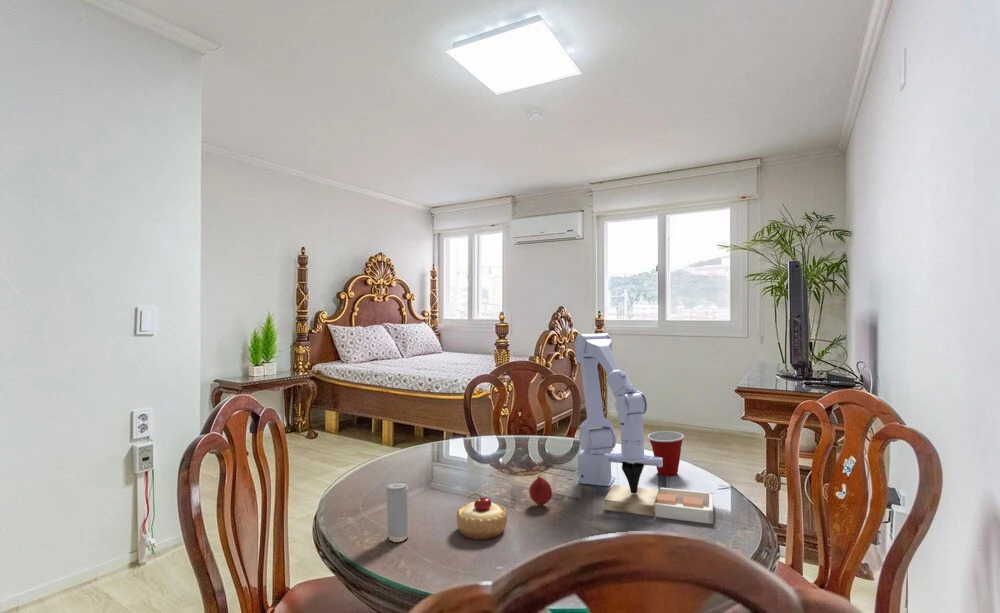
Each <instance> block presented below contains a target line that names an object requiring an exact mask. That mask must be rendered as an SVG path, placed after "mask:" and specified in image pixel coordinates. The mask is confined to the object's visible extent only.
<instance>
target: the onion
mask: <svg viewBox="0 0 1000 613" xmlns="http://www.w3.org/2000/svg"><path fill="white" fill-rule="evenodd" d="M528 493H529V496H530V498H531V500H532V501H533V502H534V503H535V504H536V505H537V506H539V507H543V506H544V505H546V504H547V503H548V502H550V500H551V498H552V497H553V496H552V494H553V489H552V486H551V485H550V484H549V482H548V481H547V480H546V479H544V478H543V477H542V476H541V475H540V474H538V475H537V478H536V479H535V480H533V482H532V483H531V484H530V487H529V491H528Z"/></svg>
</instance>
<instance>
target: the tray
mask: <svg viewBox="0 0 1000 613" xmlns="http://www.w3.org/2000/svg"><path fill="white" fill-rule="evenodd" d="M659 493H661V494H670V495H677V506H676V505H668V504H659V503H655V514H654V515H655V517H656V518H663V519H672V520H678V521H686V522H695V523H702V524H710V525H713V524H714V493H713V492H707V491H700V490H699V491H698V490H697V491H696V490H689V489H688V490H686V489H679V488H669V487H660V488H659ZM684 496H686V497H695V498H703V506H704V509H702V508H693V507H685V506H683V499H684Z"/></svg>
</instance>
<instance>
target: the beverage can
mask: <svg viewBox="0 0 1000 613" xmlns="http://www.w3.org/2000/svg"><path fill="white" fill-rule="evenodd" d="M386 487H387V488H386V512H387V513H386V518H387V520H386V521H387V522H386V523H387V525H386V527H387V536H388V535H390V536H392V537H399V538H400V537H404V536H407V535H408V534H409V535H410V513H409V512H410V511H409V510H410V504H409V486H408V483H407V482H405V481H396V482H391V483H389V484H387V486H386Z"/></svg>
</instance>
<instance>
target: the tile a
mask: <svg viewBox="0 0 1000 613" xmlns="http://www.w3.org/2000/svg"><path fill="white" fill-rule="evenodd" d="M656 503H659V504H668V505H676V506H677V495H670V494H661V493H660V492H659V493H658V495H657V499H656Z"/></svg>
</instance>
